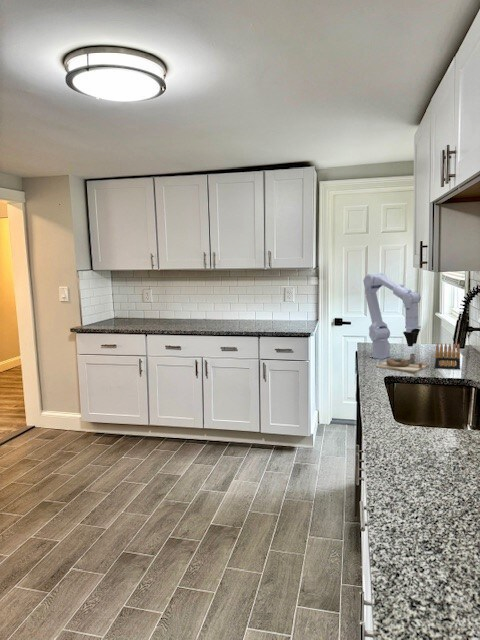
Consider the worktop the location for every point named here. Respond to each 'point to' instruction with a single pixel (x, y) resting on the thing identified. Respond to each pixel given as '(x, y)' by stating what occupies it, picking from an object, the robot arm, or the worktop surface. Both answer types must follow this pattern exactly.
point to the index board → (404, 367)
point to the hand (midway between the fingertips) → (412, 344)
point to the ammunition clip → (445, 361)
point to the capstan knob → (401, 361)
